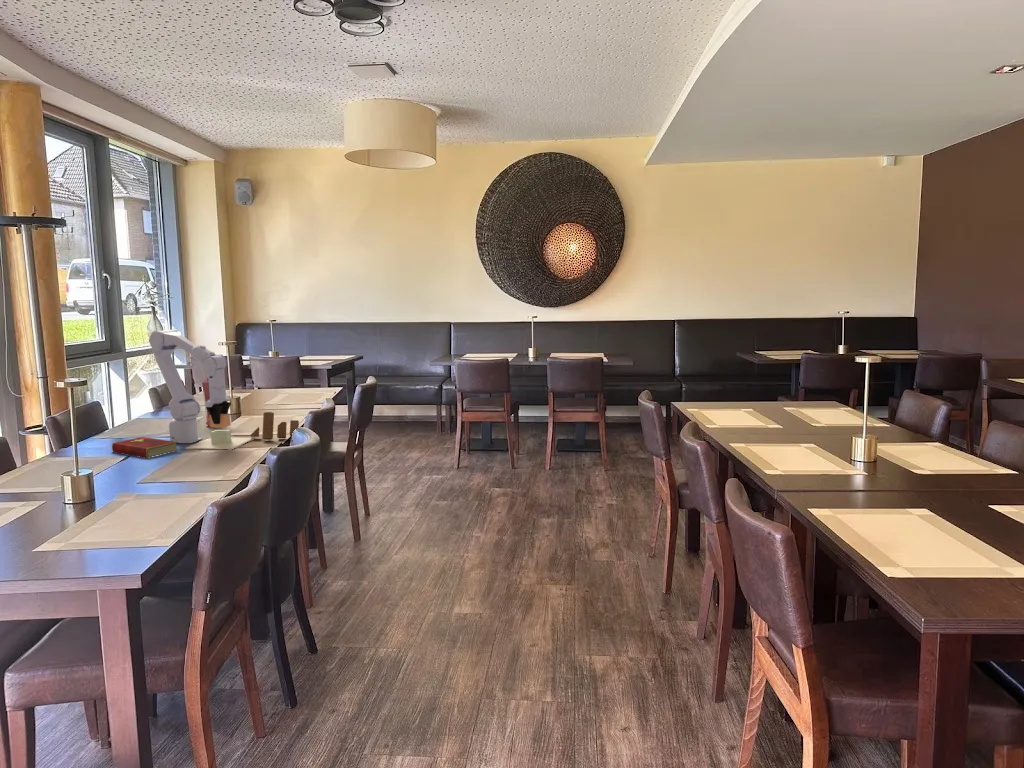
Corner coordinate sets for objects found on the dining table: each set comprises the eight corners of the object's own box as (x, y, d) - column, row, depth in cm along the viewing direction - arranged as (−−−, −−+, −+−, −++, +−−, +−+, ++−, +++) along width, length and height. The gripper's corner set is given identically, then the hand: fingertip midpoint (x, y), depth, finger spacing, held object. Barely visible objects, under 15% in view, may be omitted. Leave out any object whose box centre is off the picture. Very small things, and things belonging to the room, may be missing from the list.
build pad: (185, 449, 256) (185, 447, 256) (211, 438, 274) (211, 437, 273) (231, 449, 254) (231, 448, 254) (255, 439, 272) (255, 437, 271)
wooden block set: (298, 441, 276) (299, 415, 278) (297, 438, 268) (298, 412, 270) (250, 441, 272) (252, 415, 274) (247, 438, 263) (249, 411, 266)
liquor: (216, 427, 295) (212, 362, 291) (201, 427, 297) (196, 362, 293) (227, 424, 302) (222, 360, 298) (212, 423, 304) (207, 360, 300)
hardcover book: (147, 459, 243) (146, 448, 242) (112, 453, 253) (111, 442, 253) (178, 452, 253) (177, 441, 253) (143, 446, 264) (142, 435, 263)
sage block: (211, 443, 262) (210, 432, 261) (216, 441, 266) (216, 429, 265) (226, 443, 261) (225, 432, 261) (231, 441, 265) (230, 429, 265)
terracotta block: (210, 427, 261) (209, 415, 260) (215, 425, 265) (214, 413, 264) (225, 427, 260) (224, 415, 260) (230, 425, 264) (229, 413, 264)
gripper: (217, 390, 253) (219, 426, 255) (237, 384, 267) (239, 419, 269) (198, 390, 254) (201, 426, 256) (219, 384, 268) (222, 418, 270)
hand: (219, 422), depth 263 cm, fingers closed on terracotta block, 4 cm apart
